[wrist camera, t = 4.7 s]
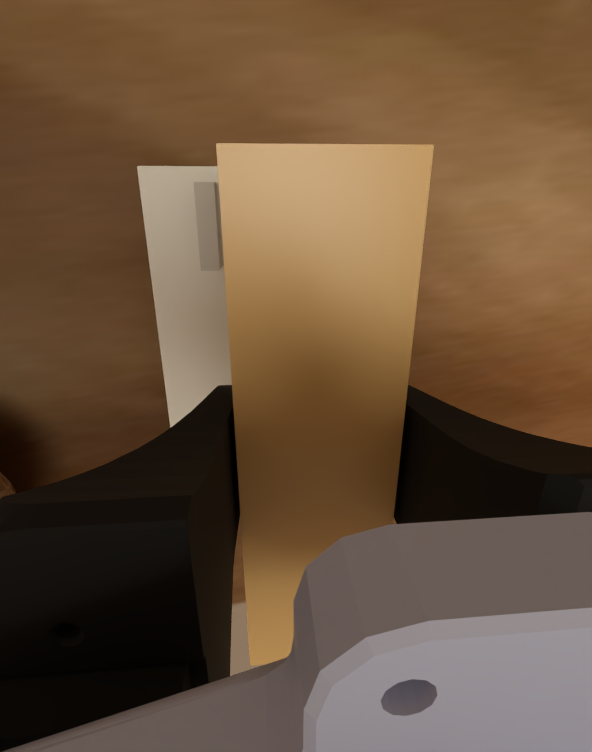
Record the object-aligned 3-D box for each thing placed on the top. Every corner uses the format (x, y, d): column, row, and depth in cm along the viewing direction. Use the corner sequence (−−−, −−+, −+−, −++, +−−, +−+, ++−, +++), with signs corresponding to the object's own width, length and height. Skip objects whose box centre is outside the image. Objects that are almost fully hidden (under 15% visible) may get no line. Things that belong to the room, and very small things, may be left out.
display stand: (177, 451, 22) (158, 517, 18) (143, 167, 17) (103, 158, 12) (390, 441, 23) (423, 502, 18) (417, 168, 18) (472, 161, 13)
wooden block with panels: (251, 540, 15) (250, 665, 11) (230, 161, 11) (216, 143, 7) (348, 534, 16) (380, 654, 12) (369, 162, 11) (436, 144, 7)
